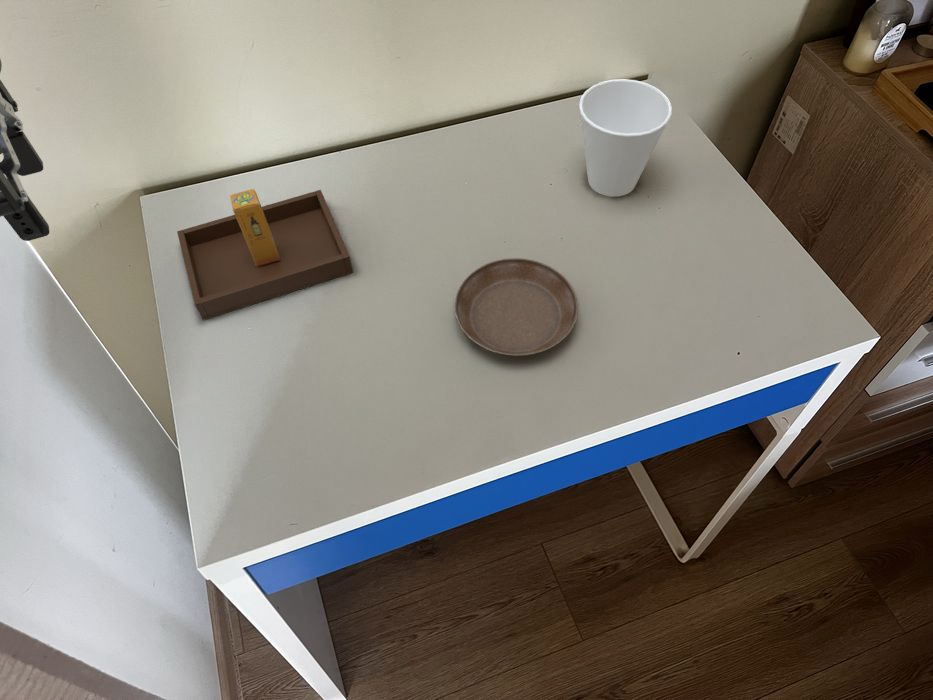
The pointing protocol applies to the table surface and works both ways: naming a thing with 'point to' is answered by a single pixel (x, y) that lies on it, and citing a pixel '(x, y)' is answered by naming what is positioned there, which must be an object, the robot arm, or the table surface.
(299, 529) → the table surface
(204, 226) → the tray
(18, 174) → the robot arm
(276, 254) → the supplement box
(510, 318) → the saucer
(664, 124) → the cup
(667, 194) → the table surface
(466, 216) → the table surface
